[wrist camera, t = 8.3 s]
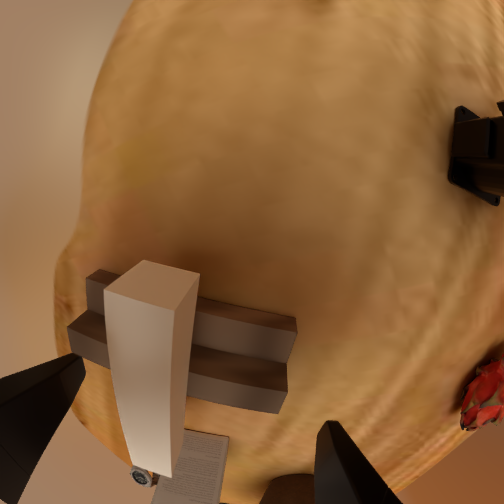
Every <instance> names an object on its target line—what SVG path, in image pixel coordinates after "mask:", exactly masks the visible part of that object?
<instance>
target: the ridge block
mask: <svg viewBox="0 0 504 504" xmlns="http://www.w3.org/2000/svg"><path fill="white" fill-rule="evenodd" d="M119 277H121V276H119V275H116V274H113V273H109V272H106V271H103V270H100V269H99V270H97V271H96V272H94V273H93V274H91V275H90V276H88V277H86V294H87V307H88V310H86V311H85V312H84V313H83V314H82V315H80V316H79V317H78V318H77V319H76V320H75V321H73V322H72V323H71V324H70V325H69V326H68V327H67V331H68V336H69V341H70V346H71V351H72V352H73V353H75V354H77V355H80V356H81V357H83V358H85V359H88V360H90V361H92V362H94V363H96V364H99V365H101V366H103V367H106V368H108V369H111V368H110V361H109V353H108V345H107V335H106V324H105V310H104V289H105V288H106V287H107V286H109V285H110V284H111V283H113V282H114V281H115V280H117V279H118V278H119ZM296 336H297V325H296V318H293V317H287V316H282V315H277V314H272V313H267V312H262V311H258V310H253V309H248V308H244V307H239V306H235V305H230V304H226V303H222V302H217V301H213V300H209V299H205V298H201V297H197V301H196V309H195V317H194V325H193V333H192V342H191V351H190V361H189V371H188V382H187V393H186V396H190V397H194V398H198V399H202V400H206V401H210V402H214V403H218V404H223V405H228V406H232V407H237V408H243V409H248V410H254V411H260V412H266V413H273V414H278V413H279V411H280V409H281V406H282V404H283V402H284V400H285V397H286V395H287V393H288V385H287V361H288V358H289V355H290V353H291V350H292V347H293V344H294V341H295V339H296Z"/></svg>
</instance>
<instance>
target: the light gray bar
mask: <svg viewBox="0 0 504 504" xmlns="http://www.w3.org/2000/svg"><path fill="white" fill-rule="evenodd" d="M199 279H200V273H196V272H191V271H187V270H183V269H179V268H175V267H171V266H167V265H163V264H159V263H155V262H151V261H147V260H142V261H141V262H139V263H138V264H137V265H135V266H134V267H133V268H131V269H130V270H129V271H127V272H126V273H125V274H123V275H122V276H121V277H119V278H118V279H117V280H115V281H114V282H113V283H111V284H110V285H109V286H107V287H106V288H105V289H104V310H105V324H106V335H107V345H108V353H109V361H110V368H111V374H112V380H113V386H114V392H115V397H116V402H117V407H118V411H119V416H120V420H121V424H122V428H123V432H124V436H125V440H126V443H127V447H128V450H129V454H130V457H131V460H132V463H133V465H135V466H137V467H140V468H143V469H146V470H148V471H151V472H154V473H157V474H160V475H164V476H167V477H170V478H172V476H173V472H174V469H175V466H176V463H177V460H178V457H179V454H180V450H181V447H182V444H183V436H184V420H185V406H186V393H187V382H188V371H189V361H190V351H191V342H192V333H193V325H194V317H195V309H196V301H197V293H198V286H199Z"/></svg>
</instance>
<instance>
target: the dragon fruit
mask: <svg viewBox="0 0 504 504" xmlns="http://www.w3.org/2000/svg"><path fill="white" fill-rule="evenodd" d="M476 374H477V375H478V376H477V377H476V378H475V379H474V380H473V381H472V382H471V383H470V384H469V385H467V386H466V387H465V388H464V390H463V393H462V396H461V398H460V399H461V400H463V399H464V397H465V399H464V402H463V404H462V409H461V420H460V425H461V429H462V430H464V428H467V429H466V431H474V430H477V429H478V428H479V429H480V428H482V427H484V426H485V425H487V424H488V423H489V422H492V423H494V424H495V425H496V426H497V425H499V424H500V423H501V421H502V418H503V416H504V353H503V354H502V357H501V359H500V361H498V359H491V361H490V364H489V365H486V366H484V365H483V366H482V367H480V368H479V366H478V367H477V369H476Z"/></svg>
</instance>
